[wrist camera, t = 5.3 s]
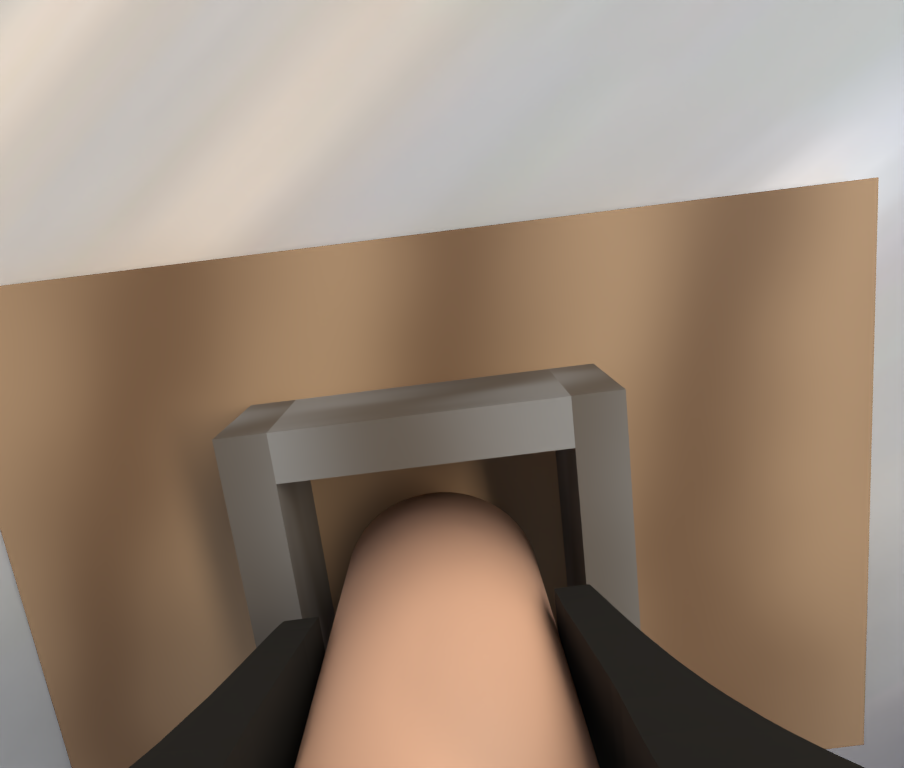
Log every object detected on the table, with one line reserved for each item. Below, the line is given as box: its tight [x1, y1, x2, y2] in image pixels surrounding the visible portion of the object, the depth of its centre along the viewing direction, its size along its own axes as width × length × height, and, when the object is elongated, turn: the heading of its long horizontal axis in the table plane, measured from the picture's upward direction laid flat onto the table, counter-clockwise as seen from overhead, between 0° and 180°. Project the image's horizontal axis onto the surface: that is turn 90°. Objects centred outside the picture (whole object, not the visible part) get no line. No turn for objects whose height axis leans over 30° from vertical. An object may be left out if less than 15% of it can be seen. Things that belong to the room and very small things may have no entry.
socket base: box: [0, 178, 878, 768], centre depth 14 cm, size 20×14×4 cm
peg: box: [294, 492, 600, 768], centre depth 10 cm, size 4×4×7 cm
